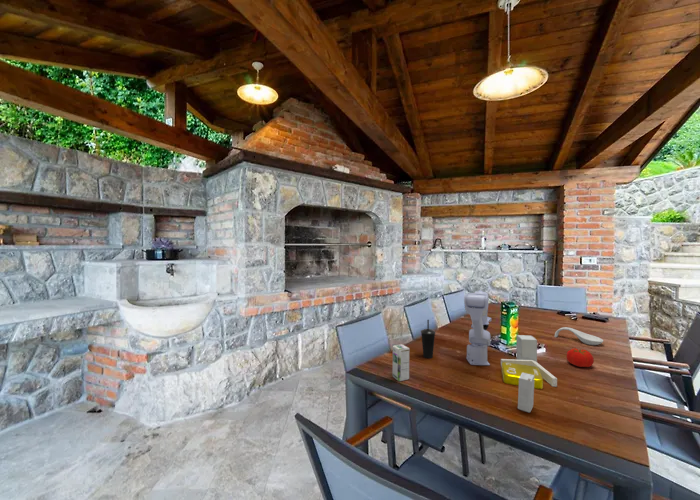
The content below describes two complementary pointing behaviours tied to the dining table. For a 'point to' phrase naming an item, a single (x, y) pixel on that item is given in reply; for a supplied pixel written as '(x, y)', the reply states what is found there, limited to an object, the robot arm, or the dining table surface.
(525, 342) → the supplement box
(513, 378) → the element tile
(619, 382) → the dining table surface
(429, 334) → the drinking cup
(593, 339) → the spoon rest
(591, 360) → the tomato
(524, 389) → the skincare box
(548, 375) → the white l-shaped strip
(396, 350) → the syrup box
